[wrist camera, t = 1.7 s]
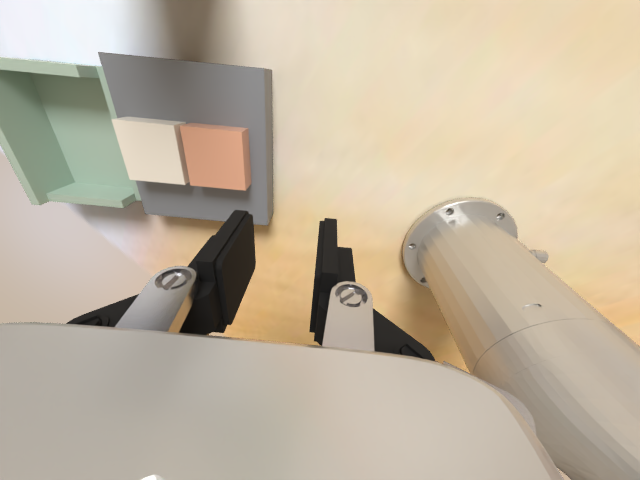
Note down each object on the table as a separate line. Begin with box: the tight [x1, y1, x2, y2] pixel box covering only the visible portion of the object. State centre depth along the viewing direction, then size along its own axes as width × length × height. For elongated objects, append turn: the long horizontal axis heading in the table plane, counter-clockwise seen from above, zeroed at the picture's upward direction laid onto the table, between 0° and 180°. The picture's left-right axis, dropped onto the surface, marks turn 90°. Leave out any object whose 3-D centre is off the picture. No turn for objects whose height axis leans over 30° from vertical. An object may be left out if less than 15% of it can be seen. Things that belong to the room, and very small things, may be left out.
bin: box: [0, 57, 141, 208], centre depth 24 cm, size 9×12×5 cm
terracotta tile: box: [180, 123, 251, 191], centre depth 23 cm, size 5×5×2 cm
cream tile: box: [111, 117, 190, 185], centre depth 23 cm, size 5×5×2 cm
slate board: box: [98, 52, 273, 225], centre depth 25 cm, size 13×14×3 cm
